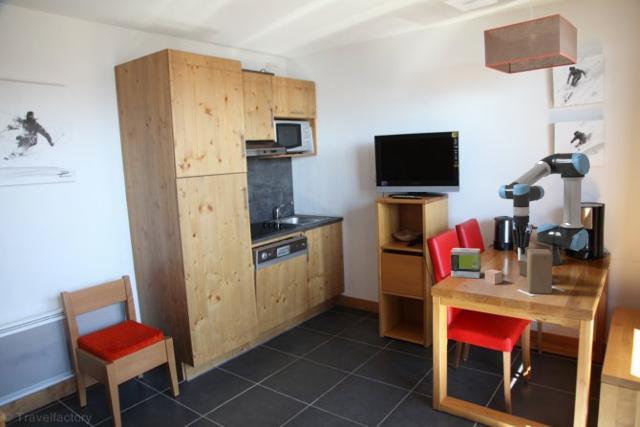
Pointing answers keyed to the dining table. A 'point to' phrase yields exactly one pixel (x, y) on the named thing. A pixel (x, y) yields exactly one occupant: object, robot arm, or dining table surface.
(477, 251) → the tea box
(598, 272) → the dining table surface
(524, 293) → the strip
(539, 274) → the wooden block
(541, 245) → the brown angled piece
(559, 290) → the strip
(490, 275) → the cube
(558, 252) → the robot arm
